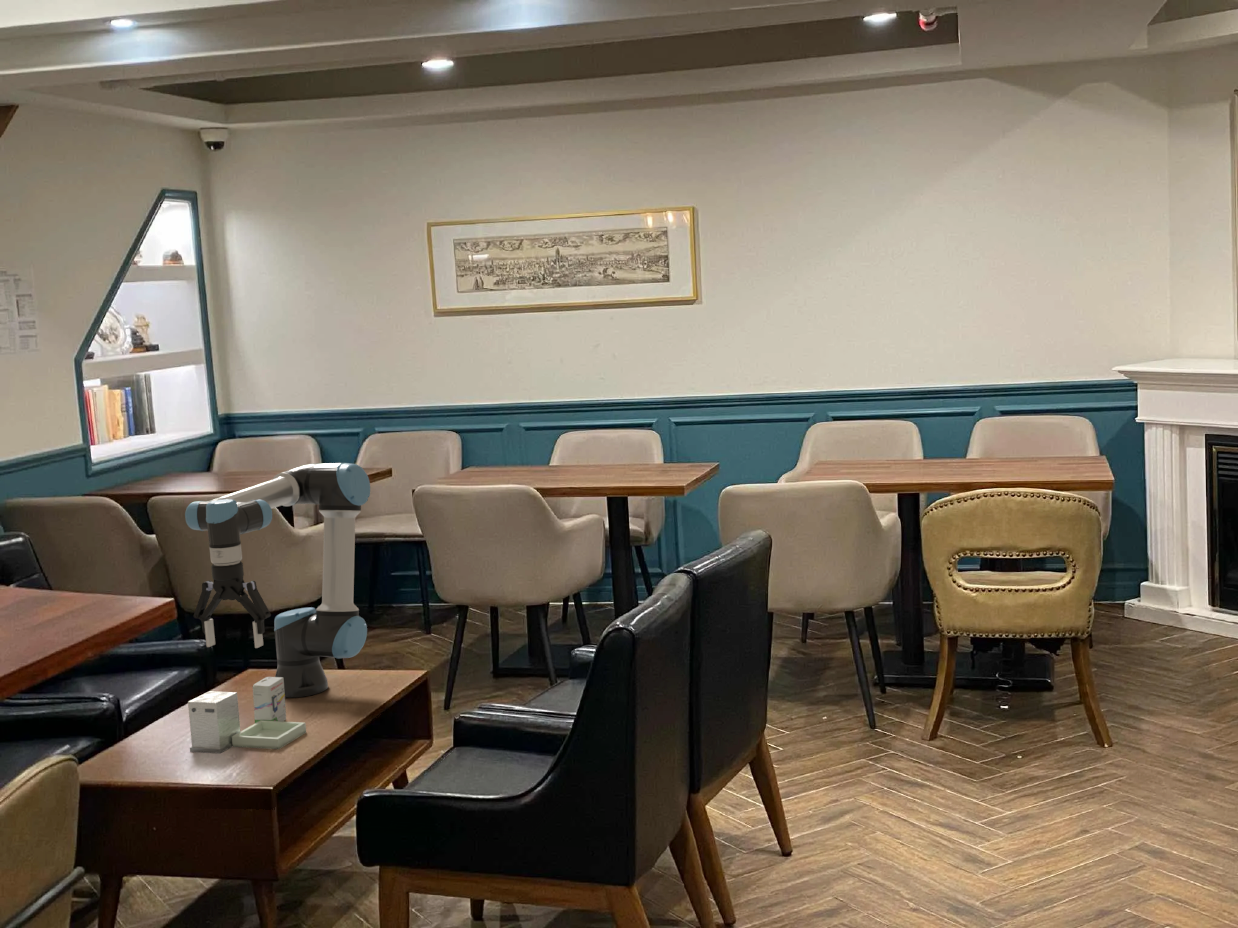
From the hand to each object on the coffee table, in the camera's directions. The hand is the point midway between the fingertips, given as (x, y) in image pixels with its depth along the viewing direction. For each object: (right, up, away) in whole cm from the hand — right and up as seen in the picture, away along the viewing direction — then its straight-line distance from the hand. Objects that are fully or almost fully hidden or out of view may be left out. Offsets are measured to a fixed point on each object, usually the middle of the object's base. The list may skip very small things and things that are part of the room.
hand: (235, 646), depth 328 cm
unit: (-4, -25, -1) cm, 25 cm away
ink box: (+5, -23, +15) cm, 28 cm away
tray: (+8, -24, +2) cm, 25 cm away
